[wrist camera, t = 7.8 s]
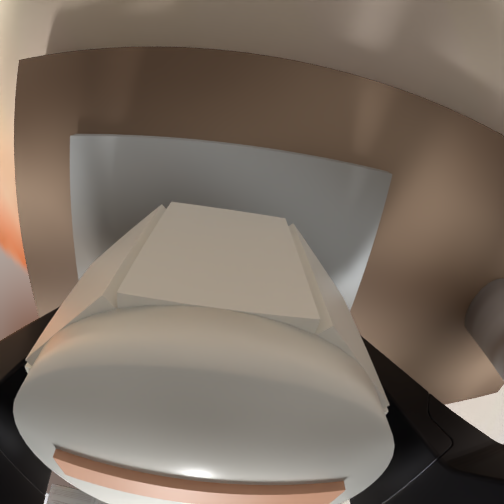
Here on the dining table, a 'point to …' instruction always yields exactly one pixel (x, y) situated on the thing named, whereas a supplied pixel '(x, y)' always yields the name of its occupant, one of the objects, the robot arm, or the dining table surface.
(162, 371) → the cap
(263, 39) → the dining table surface
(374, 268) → the post board
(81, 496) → the supplement box
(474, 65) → the dining table surface
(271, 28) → the dining table surface
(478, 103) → the dining table surface
